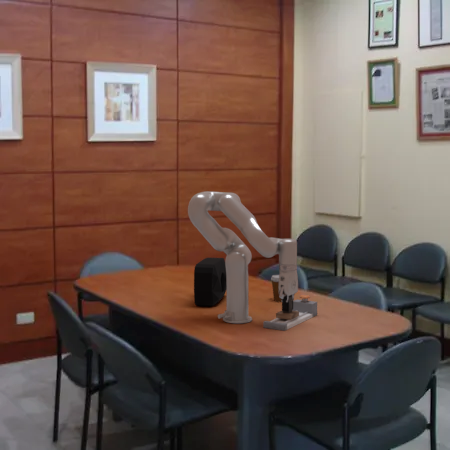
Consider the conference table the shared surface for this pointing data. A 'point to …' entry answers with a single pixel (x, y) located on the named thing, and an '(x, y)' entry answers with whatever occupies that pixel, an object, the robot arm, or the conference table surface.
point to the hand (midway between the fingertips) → (287, 309)
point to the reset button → (304, 297)
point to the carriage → (290, 313)
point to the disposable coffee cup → (276, 287)
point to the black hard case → (209, 281)
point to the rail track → (305, 313)
